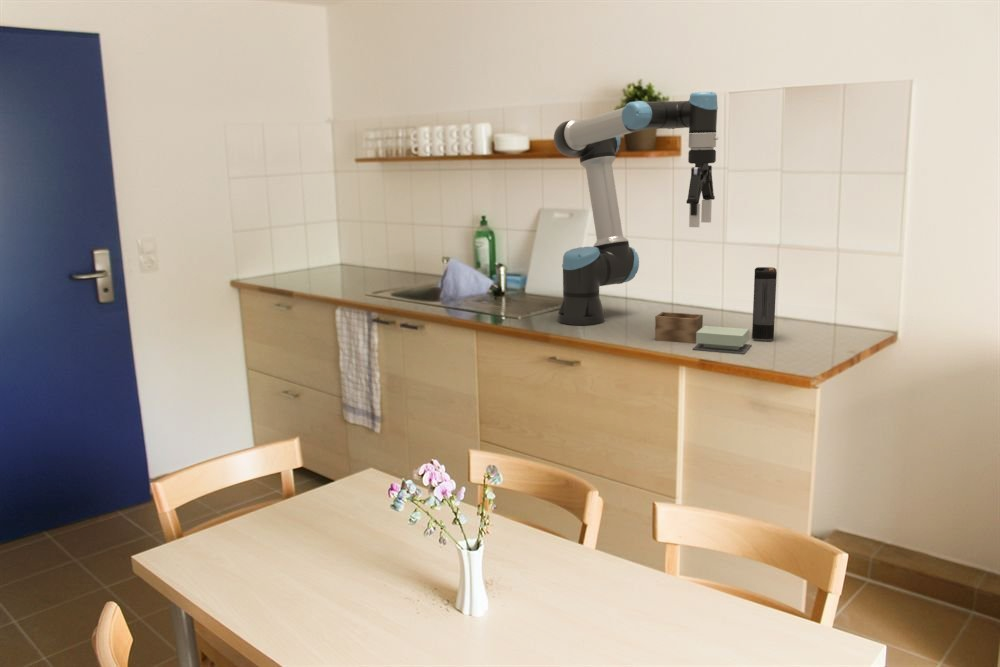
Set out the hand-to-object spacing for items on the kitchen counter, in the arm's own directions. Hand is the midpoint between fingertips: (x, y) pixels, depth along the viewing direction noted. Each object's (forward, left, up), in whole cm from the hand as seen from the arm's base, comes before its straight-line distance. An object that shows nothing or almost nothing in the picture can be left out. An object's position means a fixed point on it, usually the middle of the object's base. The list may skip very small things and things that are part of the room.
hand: (700, 224), depth 242 cm
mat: (+10, -12, -33) cm, 36 cm away
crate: (-4, -6, -33) cm, 33 cm away
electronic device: (+18, +4, -33) cm, 38 cm away
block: (+10, -12, -31) cm, 35 cm away
